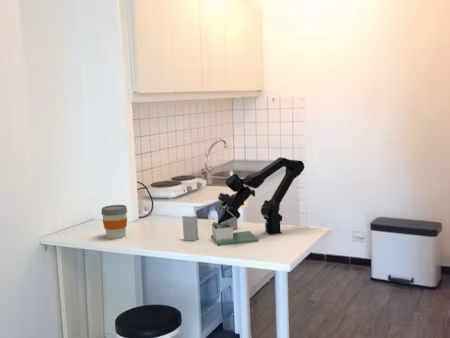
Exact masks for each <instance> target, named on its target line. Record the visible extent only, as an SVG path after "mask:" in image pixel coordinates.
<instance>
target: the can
mask: <svg viewBox="0 0 450 338" xmlns="http://www.w3.org/2000/svg"><path fill="white" fill-rule="evenodd" d="M222 207H224V206H223V205H222ZM233 216H234V215H233ZM222 223H229V224H230V225H231V226H232V227H233V231H235V230H236V229H237V228H238V227H239V226H238V219H237V218H236V217H235V216H234V218H231V219H228V220H226V221H224V222H222Z"/></svg>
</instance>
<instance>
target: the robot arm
mask: <svg viewBox="0 0 450 338" xmlns="http://www.w3.org/2000/svg"><path fill="white" fill-rule="evenodd" d="M283 167H284V168H285V174H284V176H283V177H282V179H281V181H280V183H279V185H278V186H277V188H276V189H275V191H274V193H273V195H272V196H271V198H270V199H269V200H267V199H265V200H264V201H263V203H262V205H261V206H260V207H261V208H260V212H261V213H260V214H261V216H262V217H263V219H264V220H265V224H264V229H265V231H264V232H265V233H266V234H267V235H278V234H282V231H281V222H282V221H283V216H282V214H281V213H280V209H281V208H280V207H281V203H282V201H283V199H284V197H285V195H286V194H287V192H288V190H289V188H290V187H291V186H292V184H293V182H294V181H295V179H296V178H297V177H299V176H300V175H301V174H302V172H304V170H305V164H304V161H302V160H297V159H288V158H286V157H279V156H278V157H277V159H275V160H274V161H273V162H271V163H270V164H268V165H266V166H265V167H263V168H262V169H260V170H259V171H256V172H252V173H250V174H248V175H246V176H245V177H244V178H240V176H239V175H238V174H237V173H233V174H232V175H230V176H229V177H227V179H225V186H227V187H228V188H229V189H230V190H231V191H233V192H234V194H232V195H230V194H228V193H223V192H219V194H218V197H217V199H218V201H220V203H219V204H220V205H221V214H220V215H219V218H218V220H217V223H219V224H220V223H223V222H224V221H226V220H228V219H231V218H234V216H235V217H236V218H237V220H238V219H239V218H240V217H241V213H240V212H239V209H240V208H242V206H244V205H245V203H246V201H247V200H248V199H249V198H250V196H252V197H256V190H254V189H258V188H259V187H261V186H262V185H263V183H264V182H265V180H266V179H267V178H269V177H270V176H272V175H273V174H275V173H276V172H278V171H279V170H280V169H282V168H283ZM251 188H252V189H251ZM223 206H224V207H223ZM233 215H234V216H233Z"/></svg>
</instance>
